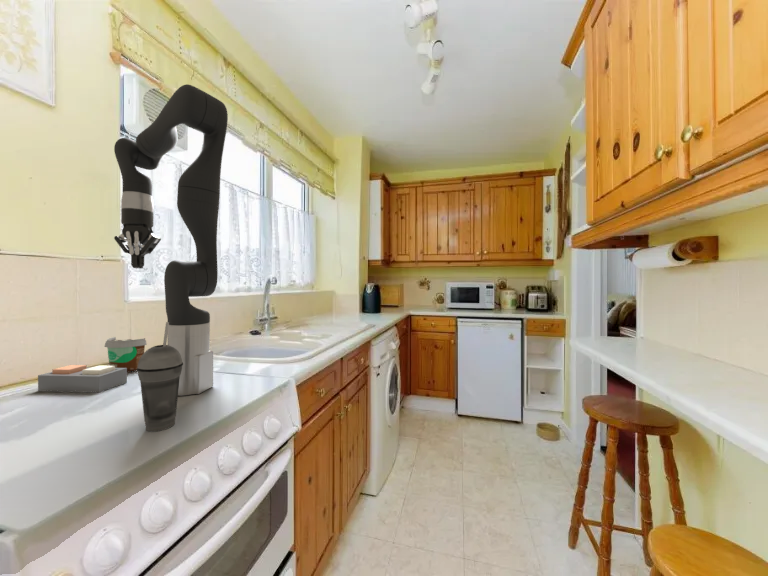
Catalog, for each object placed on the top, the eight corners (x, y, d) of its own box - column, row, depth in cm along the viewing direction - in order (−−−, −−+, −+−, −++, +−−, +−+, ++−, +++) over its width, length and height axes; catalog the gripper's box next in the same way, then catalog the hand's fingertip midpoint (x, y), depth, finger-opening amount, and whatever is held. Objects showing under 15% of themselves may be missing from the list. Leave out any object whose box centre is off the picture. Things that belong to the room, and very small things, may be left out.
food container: (93, 372, 95) (93, 340, 94) (113, 367, 101) (114, 336, 101) (127, 375, 92) (127, 341, 92) (146, 369, 99) (146, 338, 98)
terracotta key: (86, 378, 84) (86, 365, 84) (69, 383, 80) (69, 369, 80) (70, 377, 84) (70, 364, 84) (52, 382, 80) (52, 369, 80)
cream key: (115, 378, 84) (115, 365, 84) (99, 383, 79) (99, 370, 79) (99, 378, 84) (99, 365, 84) (82, 383, 80) (82, 370, 80)
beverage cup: (153, 418, 63) (153, 320, 63) (190, 417, 64) (191, 320, 63) (126, 435, 56) (126, 324, 56) (169, 434, 56) (169, 324, 56)
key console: (126, 382, 86) (126, 368, 86) (99, 392, 78) (99, 376, 78) (71, 381, 86) (71, 366, 86) (38, 391, 78) (38, 375, 78)
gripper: (168, 212, 96) (168, 268, 96) (127, 212, 96) (127, 268, 96) (149, 206, 88) (149, 267, 88) (104, 206, 89) (104, 267, 89)
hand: (137, 268), depth 92 cm, fingers closed
